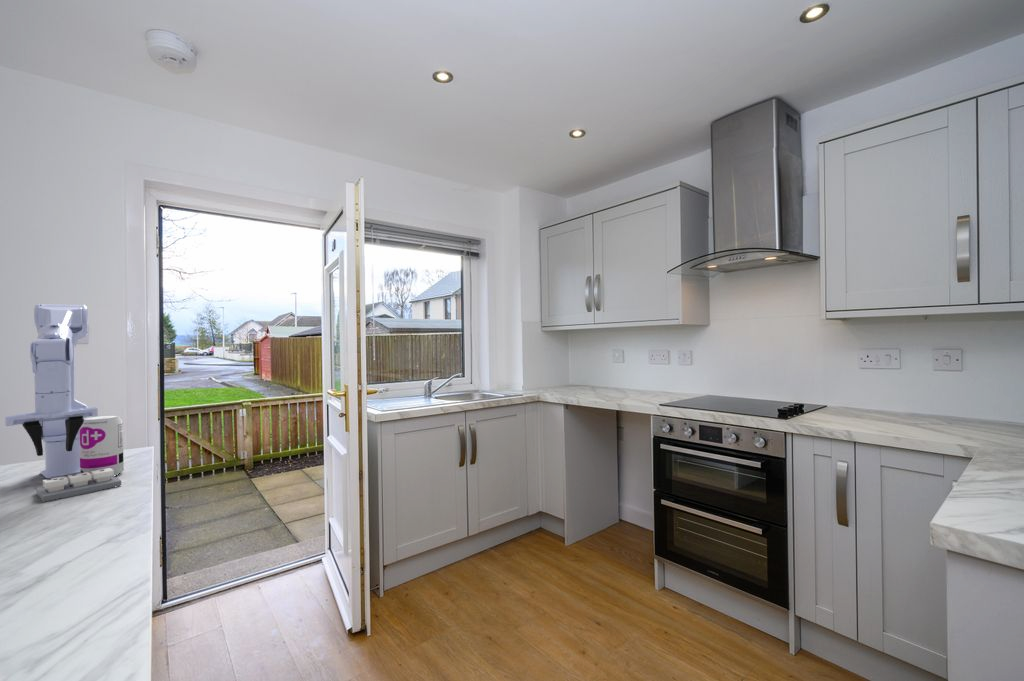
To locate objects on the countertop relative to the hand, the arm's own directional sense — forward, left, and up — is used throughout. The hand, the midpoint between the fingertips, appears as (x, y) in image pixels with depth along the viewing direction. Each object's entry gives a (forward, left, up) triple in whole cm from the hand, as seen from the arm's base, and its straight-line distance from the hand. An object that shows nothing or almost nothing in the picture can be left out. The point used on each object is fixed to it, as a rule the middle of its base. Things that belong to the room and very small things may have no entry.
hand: (54, 452), depth 103 cm
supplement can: (-9, +10, -10) cm, 17 cm away
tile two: (0, +4, -9) cm, 10 cm away
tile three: (0, 0, -9) cm, 9 cm away
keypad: (0, +4, -9) cm, 10 cm away
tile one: (0, +8, -8) cm, 12 cm away
